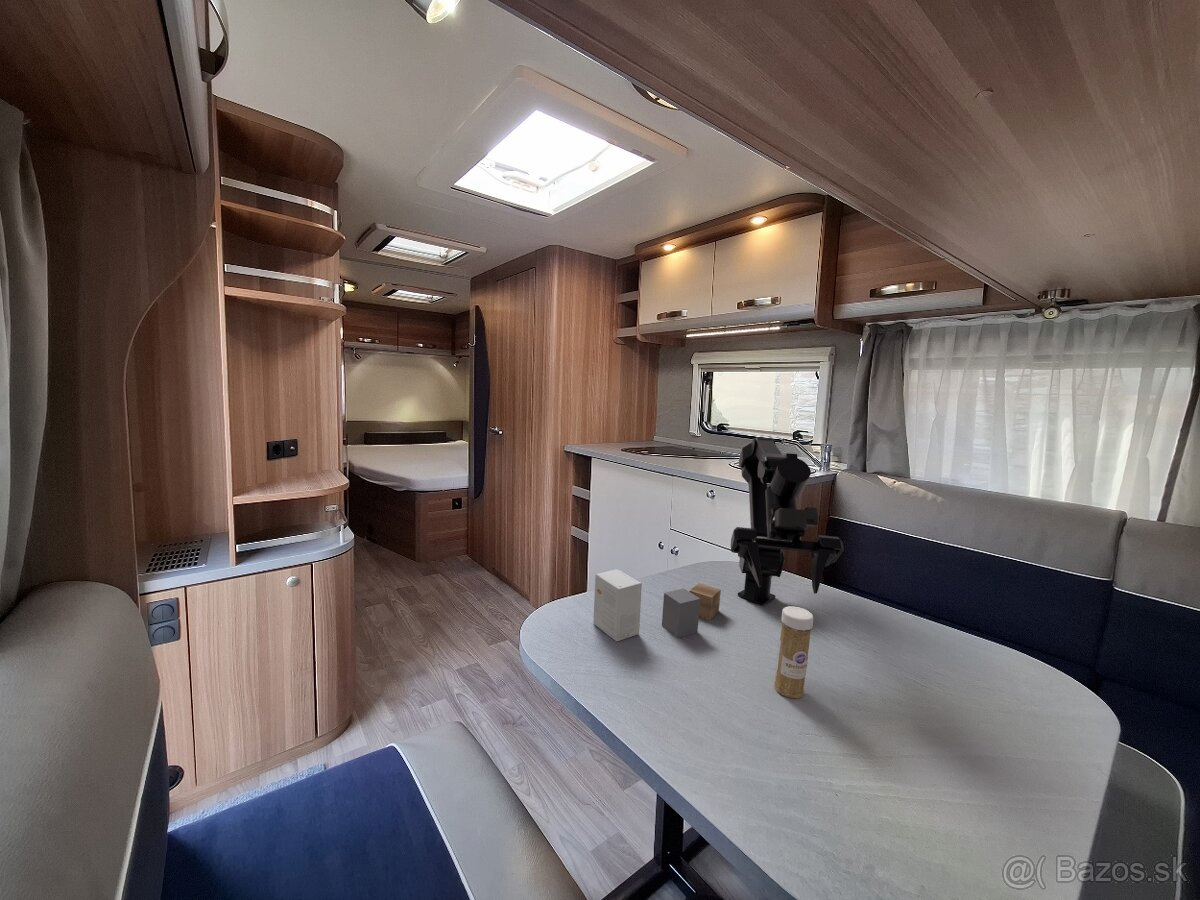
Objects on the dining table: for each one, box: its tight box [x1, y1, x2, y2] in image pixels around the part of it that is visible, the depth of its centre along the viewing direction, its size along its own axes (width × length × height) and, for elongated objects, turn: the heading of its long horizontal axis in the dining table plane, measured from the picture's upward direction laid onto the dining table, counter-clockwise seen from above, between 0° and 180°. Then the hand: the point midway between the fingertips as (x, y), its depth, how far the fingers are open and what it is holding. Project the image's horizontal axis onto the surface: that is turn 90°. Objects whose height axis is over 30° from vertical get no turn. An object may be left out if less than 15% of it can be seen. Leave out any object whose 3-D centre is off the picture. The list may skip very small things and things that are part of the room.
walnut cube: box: [688, 582, 722, 621], centre depth 101 cm, size 5×5×5 cm
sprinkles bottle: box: [773, 606, 814, 699], centre depth 75 cm, size 5×5×14 cm
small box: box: [592, 569, 643, 643], centre depth 91 cm, size 8×6×10 cm
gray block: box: [661, 587, 700, 638], centre depth 93 cm, size 5×5×7 cm
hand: (787, 589), depth 82 cm, fingers open, 9 cm apart
